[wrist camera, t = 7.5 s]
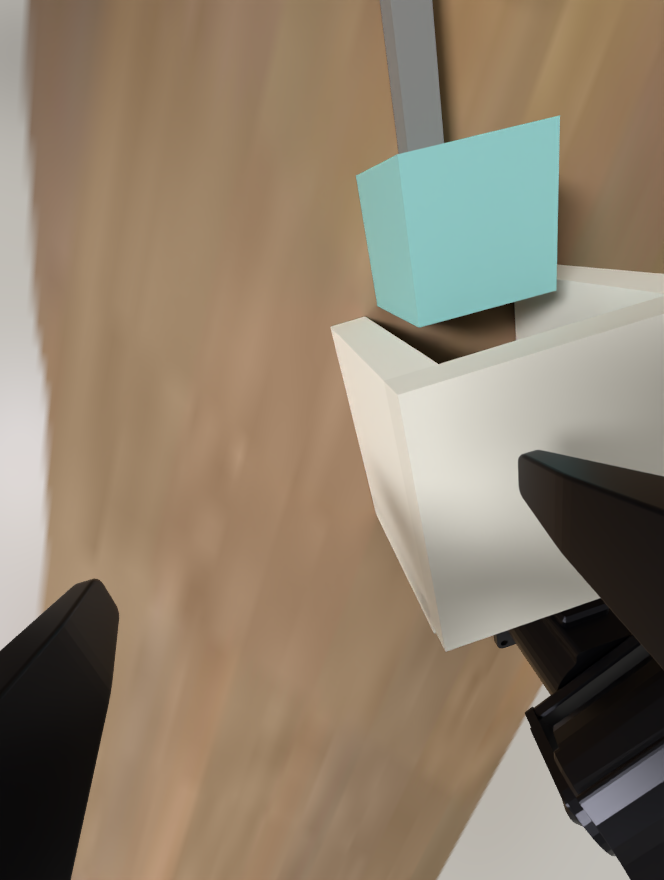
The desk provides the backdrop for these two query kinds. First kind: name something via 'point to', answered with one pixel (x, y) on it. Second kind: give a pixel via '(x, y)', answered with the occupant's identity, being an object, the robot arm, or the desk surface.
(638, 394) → the white box
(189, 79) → the desk surface
